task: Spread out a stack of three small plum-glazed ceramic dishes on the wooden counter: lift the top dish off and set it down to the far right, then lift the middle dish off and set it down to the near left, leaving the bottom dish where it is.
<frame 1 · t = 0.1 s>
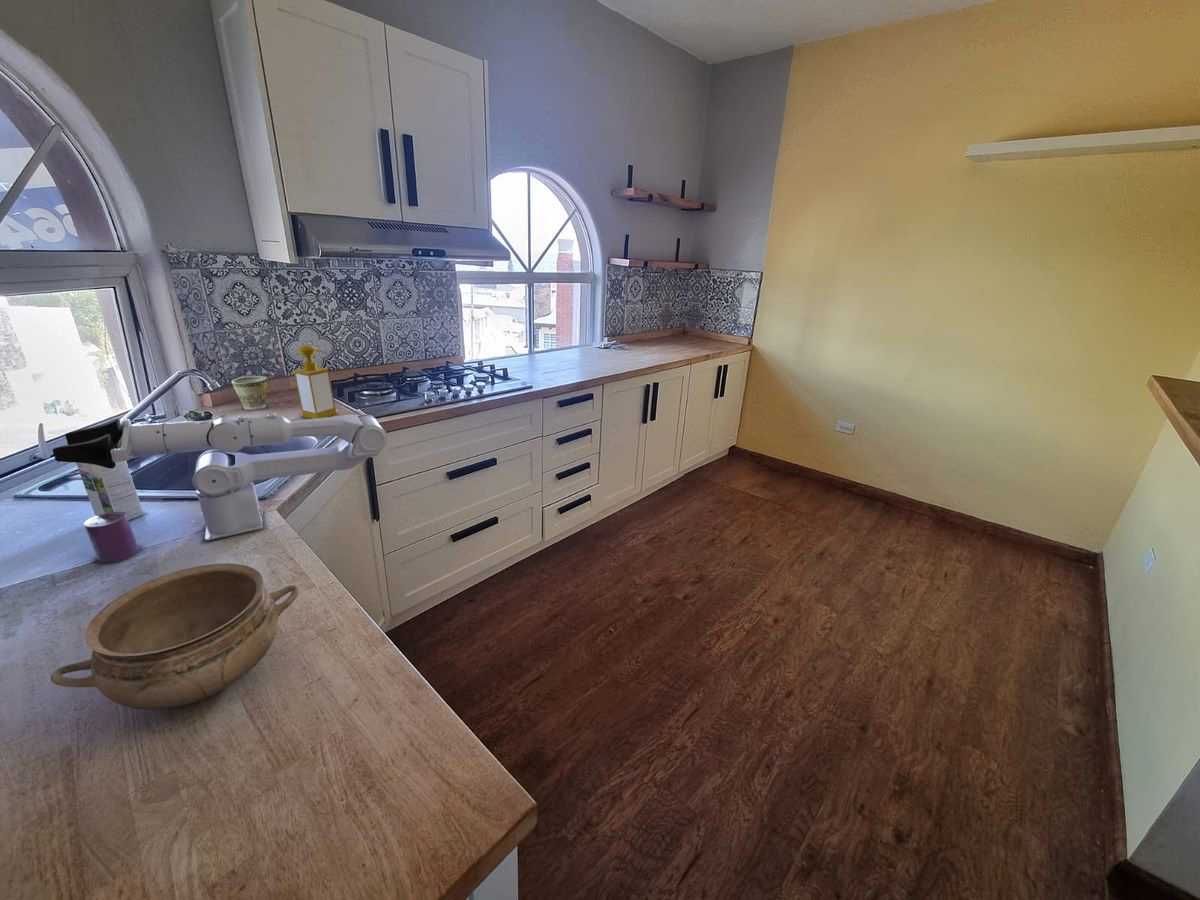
hand: (61, 446, 84), 22 cm above the countertop, tool horizontal, fingers open, 7 cm apart
syrup box: (121, 518, 105), on the countertop
dish middle: (114, 542, 92), point 2 cm above the countertop, touching dish bottom, dish top
dish top: (109, 531, 91), point 5 cm above the countertop, touching dish middle
soap bottle: (325, 417, 168), on the countertop
ceramic cup: (259, 408, 175), on the countertop
dish bottom: (118, 554, 93), on the countertop, touching dish middle
cooking pot: (207, 678, 68), on the countertop
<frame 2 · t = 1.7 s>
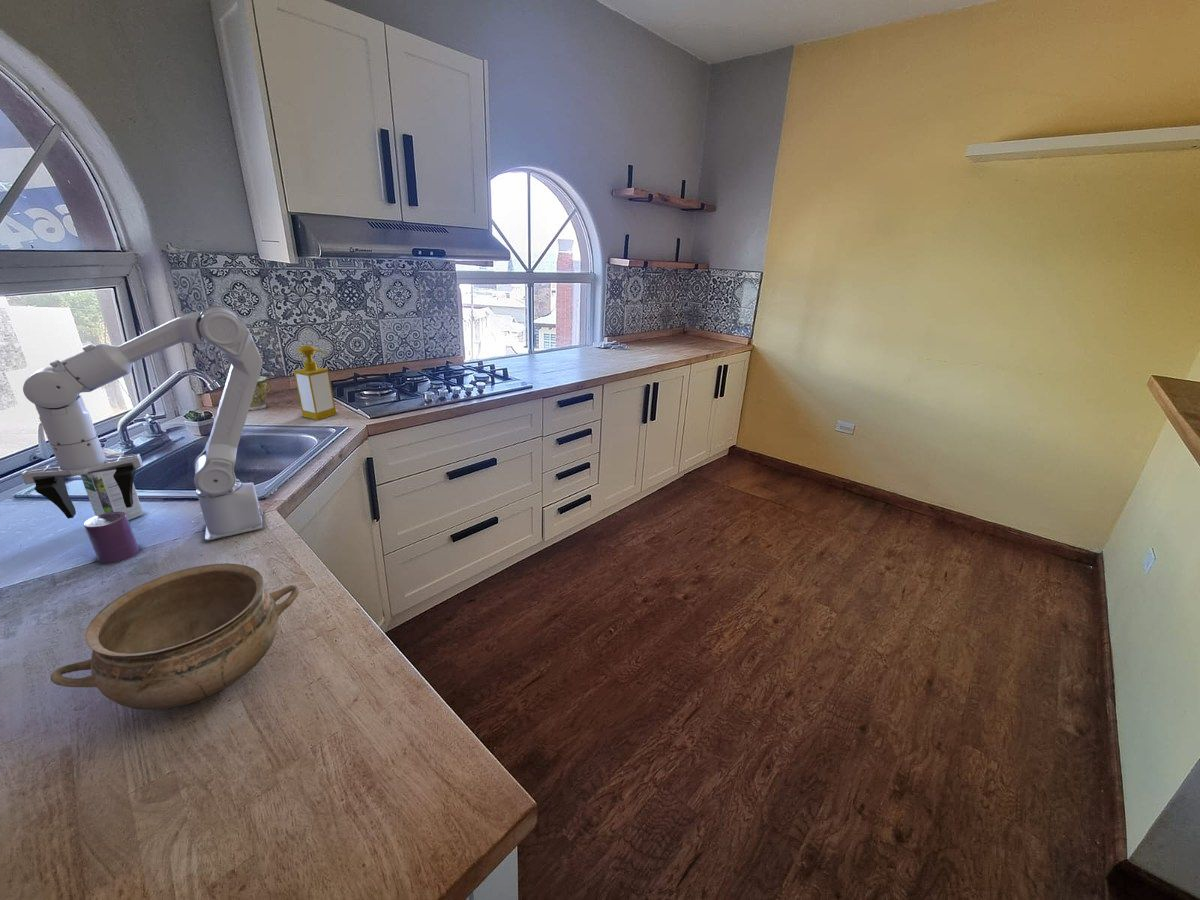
hand: (101, 510, 89), 9 cm above the countertop, tool pointing down, fingers open, 7 cm apart
nothing on the countertop moved.
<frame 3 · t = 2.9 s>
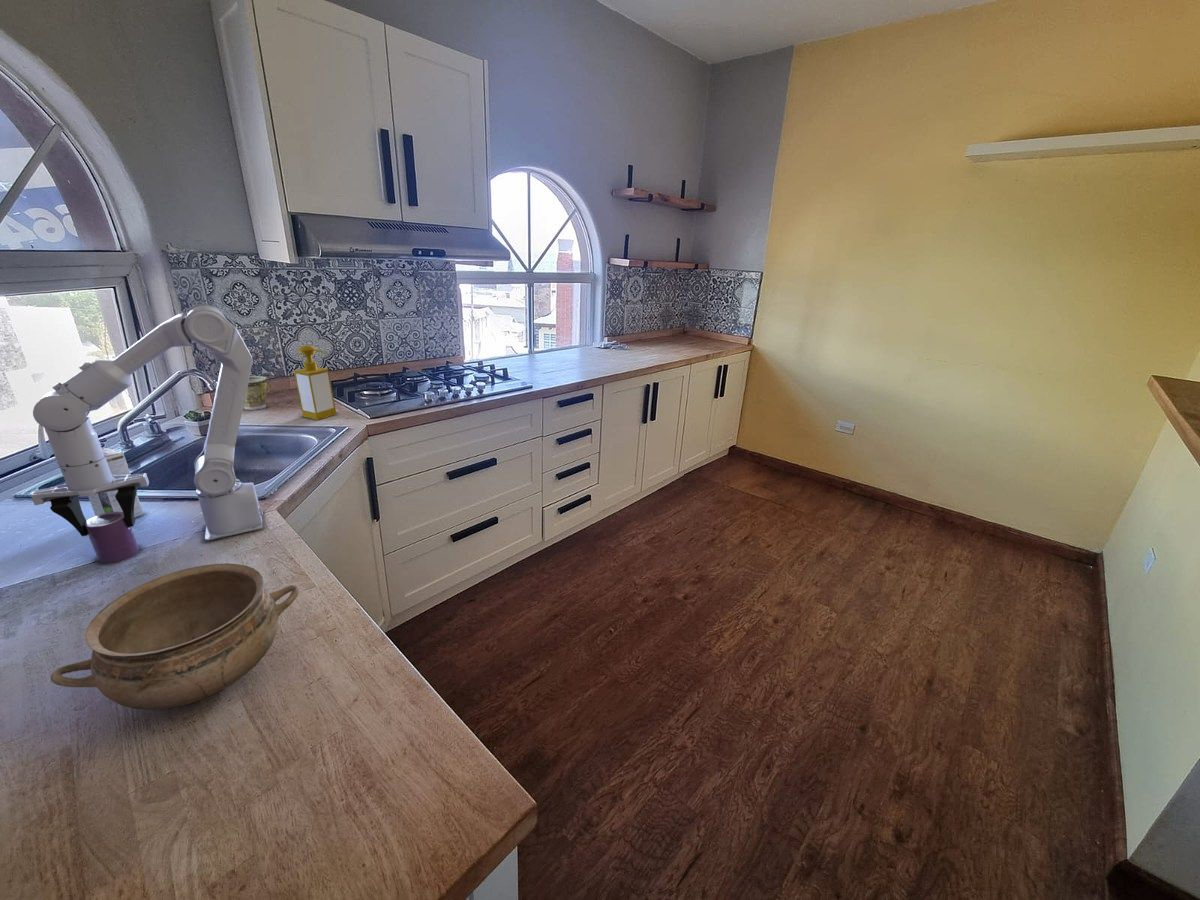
hand: (109, 529, 91), 5 cm above the countertop, tool pointing down, fingers closed on dish top, 5 cm apart
dish top: (110, 531, 91), point 5 cm above the countertop, touching dish middle, gripper
everything else where it was.
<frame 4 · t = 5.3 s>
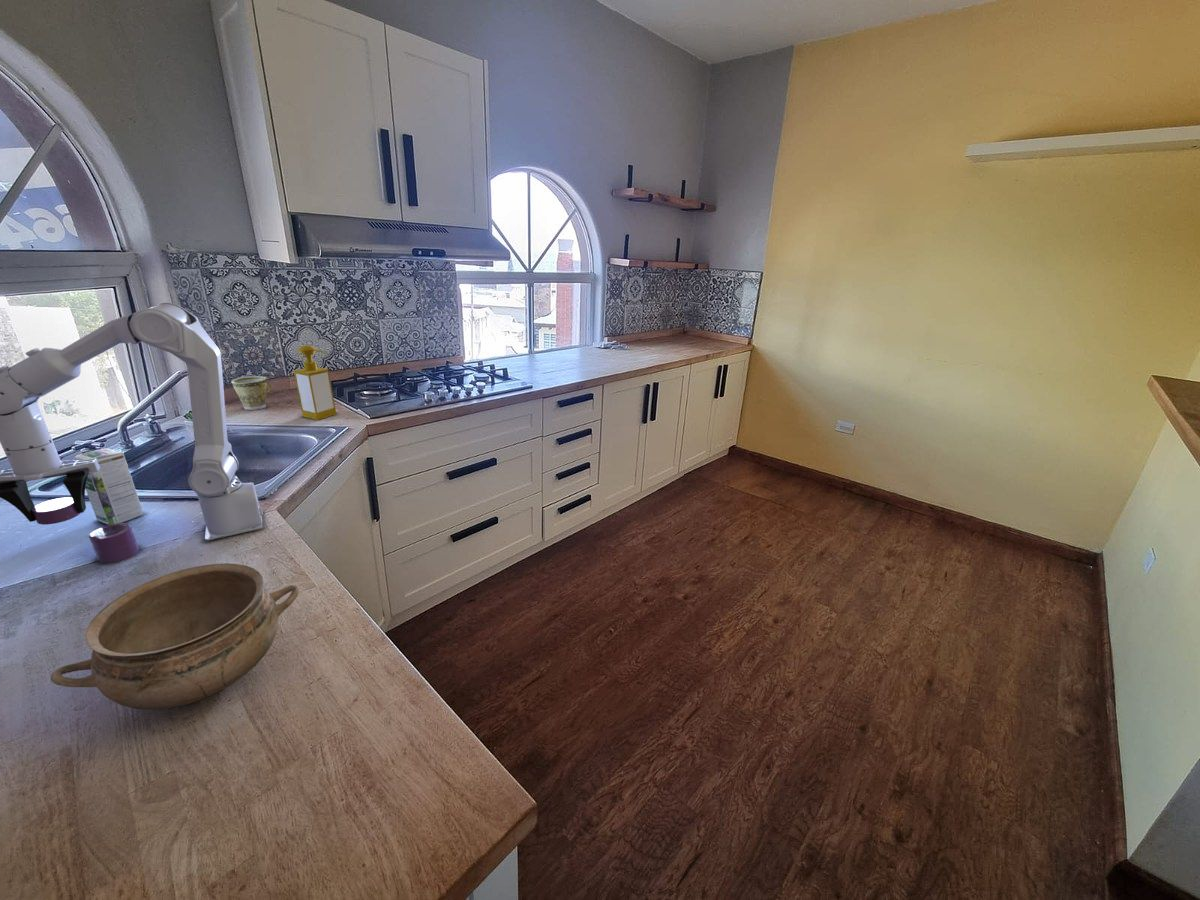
hand: (58, 514, 90), 8 cm above the countertop, tool pointing down, fingers closed on dish top, 5 cm apart
dish middle: (114, 542, 92), point 2 cm above the countertop, touching dish bottom
dish top: (59, 516, 90), point 8 cm above the countertop, touching gripper
everything else where it was.
when the fingers open (0 cm above the countertop, at t = 7.6 s): dish top stays where it is, on the countertop.
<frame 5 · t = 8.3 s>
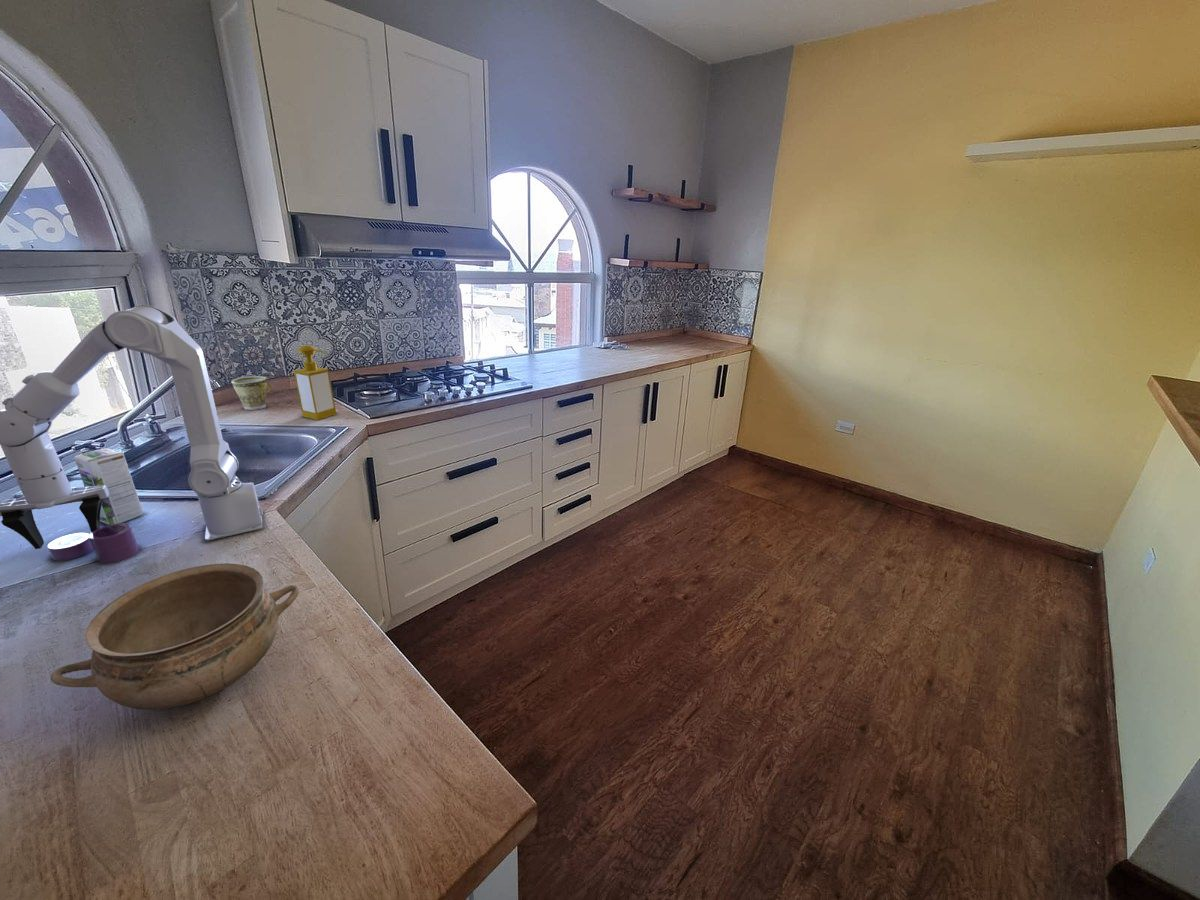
hand: (69, 540, 92), 3 cm above the countertop, tool pointing down, fingers open, 7 cm apart
dish top: (74, 552, 93), on the countertop
everything else where it was.
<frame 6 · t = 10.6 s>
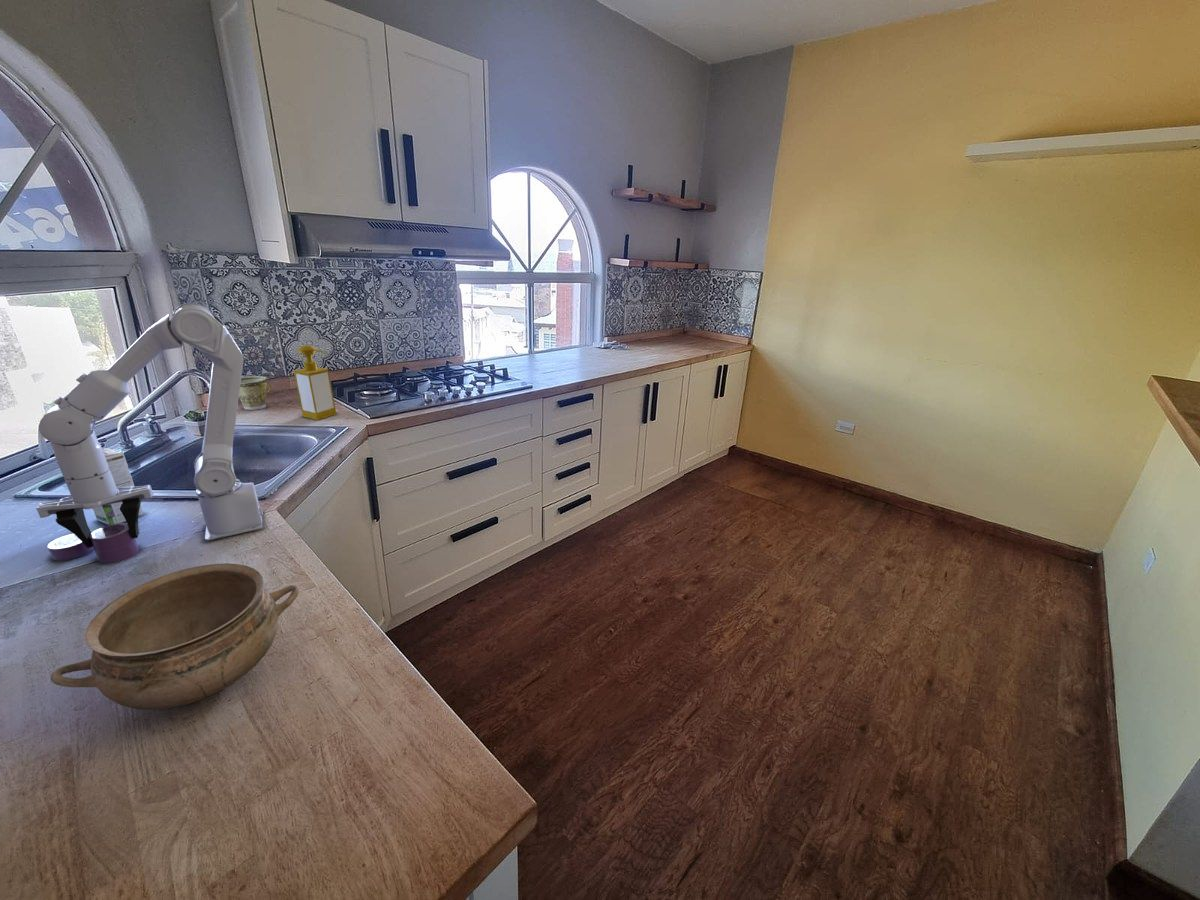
hand: (113, 540, 91), 3 cm above the countertop, tool pointing down, fingers closed on dish middle, 5 cm apart
dish middle: (114, 542, 92), point 2 cm above the countertop, touching dish bottom, gripper
everything else where it was.
when the fingers open (0 cm above the countertop, at t = 15.4 s): dish middle stays where it is, on the countertop.
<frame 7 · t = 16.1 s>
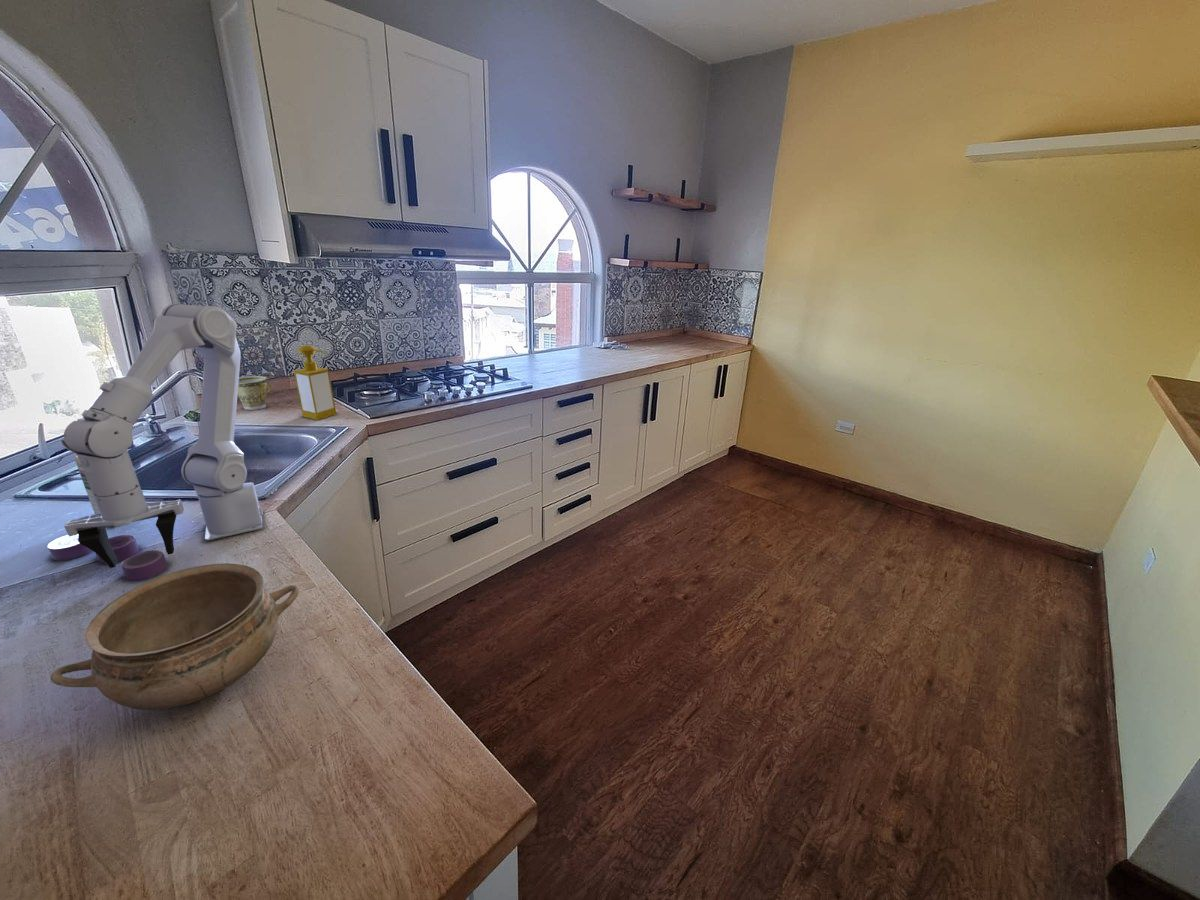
hand: (143, 558, 87), 3 cm above the countertop, tool pointing down, fingers open, 7 cm apart
dish middle: (147, 570, 88), on the countertop
dish bottom: (118, 554, 93), on the countertop
everything else where it was.
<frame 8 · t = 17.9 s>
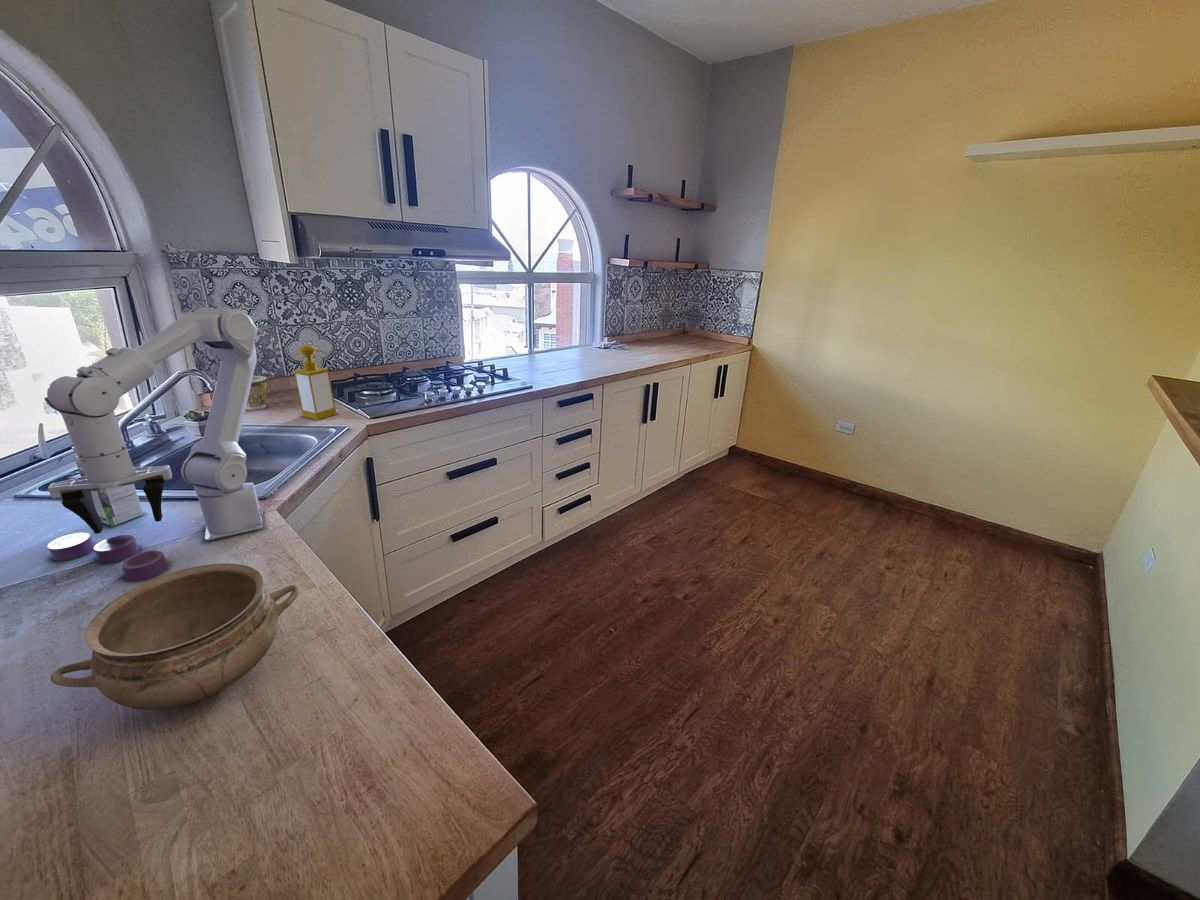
hand: (129, 524, 85), 9 cm above the countertop, tool pointing down, fingers open, 7 cm apart
nothing on the countertop moved.
at the end: dish top 0.0 cm from the target spot, on the countertop; dish middle 0.0 cm from the target spot, on the countertop; dish bottom moved 0.0 cm from its start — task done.
